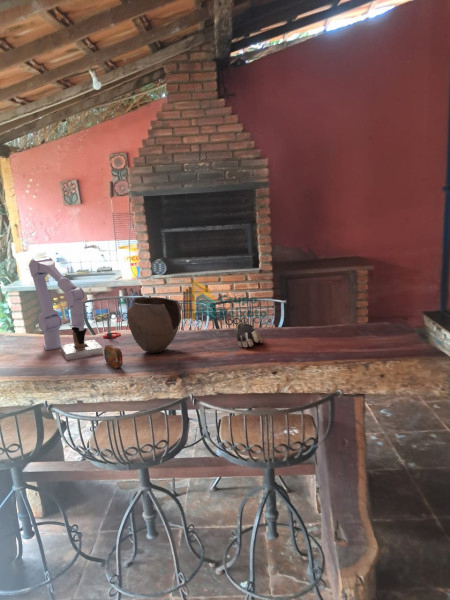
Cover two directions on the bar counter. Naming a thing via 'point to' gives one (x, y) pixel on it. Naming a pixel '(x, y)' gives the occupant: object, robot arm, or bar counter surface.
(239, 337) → the glove
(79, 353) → the collar
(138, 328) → the clay pot
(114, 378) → the bar counter surface
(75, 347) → the pin
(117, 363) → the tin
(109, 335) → the tow hook
